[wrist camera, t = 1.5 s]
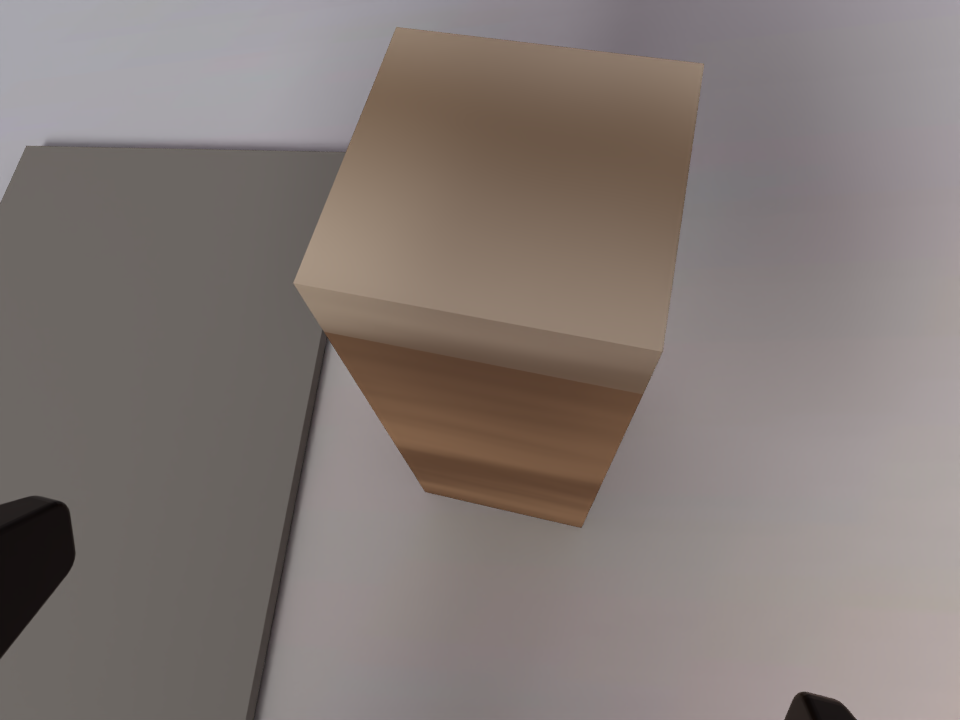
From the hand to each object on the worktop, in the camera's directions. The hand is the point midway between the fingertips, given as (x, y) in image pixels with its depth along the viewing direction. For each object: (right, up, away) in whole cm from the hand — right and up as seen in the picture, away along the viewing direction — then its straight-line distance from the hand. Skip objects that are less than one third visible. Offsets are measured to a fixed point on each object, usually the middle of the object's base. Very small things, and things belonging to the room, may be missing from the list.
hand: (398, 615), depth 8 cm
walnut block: (+2, +1, +14) cm, 14 cm away
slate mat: (-12, 0, +14) cm, 19 cm away
